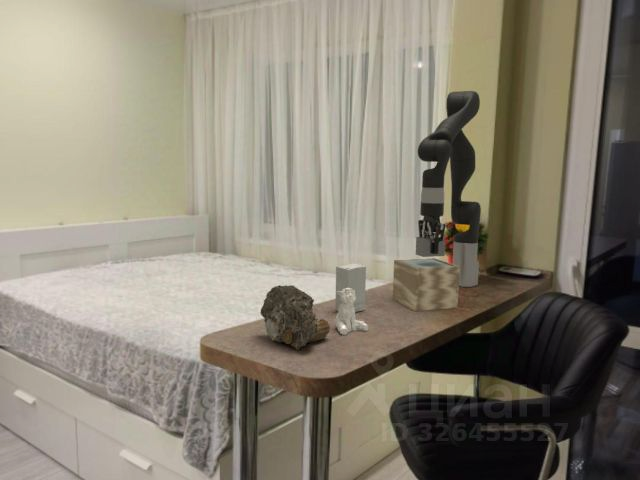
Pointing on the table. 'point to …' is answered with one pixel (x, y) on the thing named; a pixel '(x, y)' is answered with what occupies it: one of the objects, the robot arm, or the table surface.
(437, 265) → the hatch door
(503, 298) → the table surface
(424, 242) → the metal brick
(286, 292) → the rock
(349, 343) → the table surface
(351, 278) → the skincare box
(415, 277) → the hatch box
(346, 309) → the seated beast figurine
